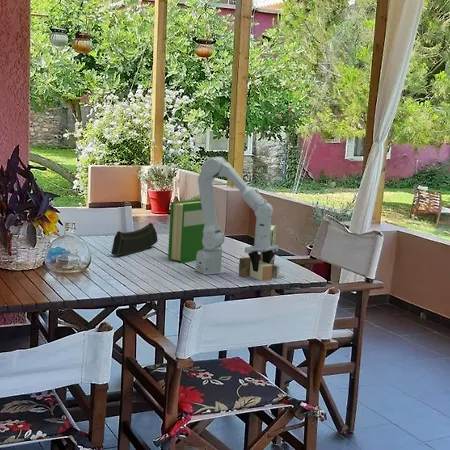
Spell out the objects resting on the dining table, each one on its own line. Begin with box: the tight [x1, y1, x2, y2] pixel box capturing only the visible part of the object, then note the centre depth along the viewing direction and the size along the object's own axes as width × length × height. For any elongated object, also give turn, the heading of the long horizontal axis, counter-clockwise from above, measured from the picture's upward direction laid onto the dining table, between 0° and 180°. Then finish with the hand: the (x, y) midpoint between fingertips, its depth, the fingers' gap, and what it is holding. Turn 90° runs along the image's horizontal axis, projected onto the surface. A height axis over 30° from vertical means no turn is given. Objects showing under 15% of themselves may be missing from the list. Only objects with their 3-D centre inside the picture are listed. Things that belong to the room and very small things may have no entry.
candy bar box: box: [259, 224, 277, 265], centre depth 277 cm, size 11×5×16 cm, turn 168°
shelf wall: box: [238, 256, 263, 278], centre depth 262 cm, size 14×1×7 cm, turn 125°
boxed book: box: [249, 261, 272, 282], centre depth 257 cm, size 4×8×6 cm, turn 35°
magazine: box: [111, 222, 158, 256], centre depth 290 cm, size 17×3×30 cm
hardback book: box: [167, 199, 205, 264], centre depth 282 cm, size 18×7×24 cm, turn 143°
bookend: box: [271, 264, 286, 279], centre depth 263 cm, size 4×7×4 cm, turn 35°
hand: (260, 270), depth 258 cm, fingers closed on boxed book, 4 cm apart
